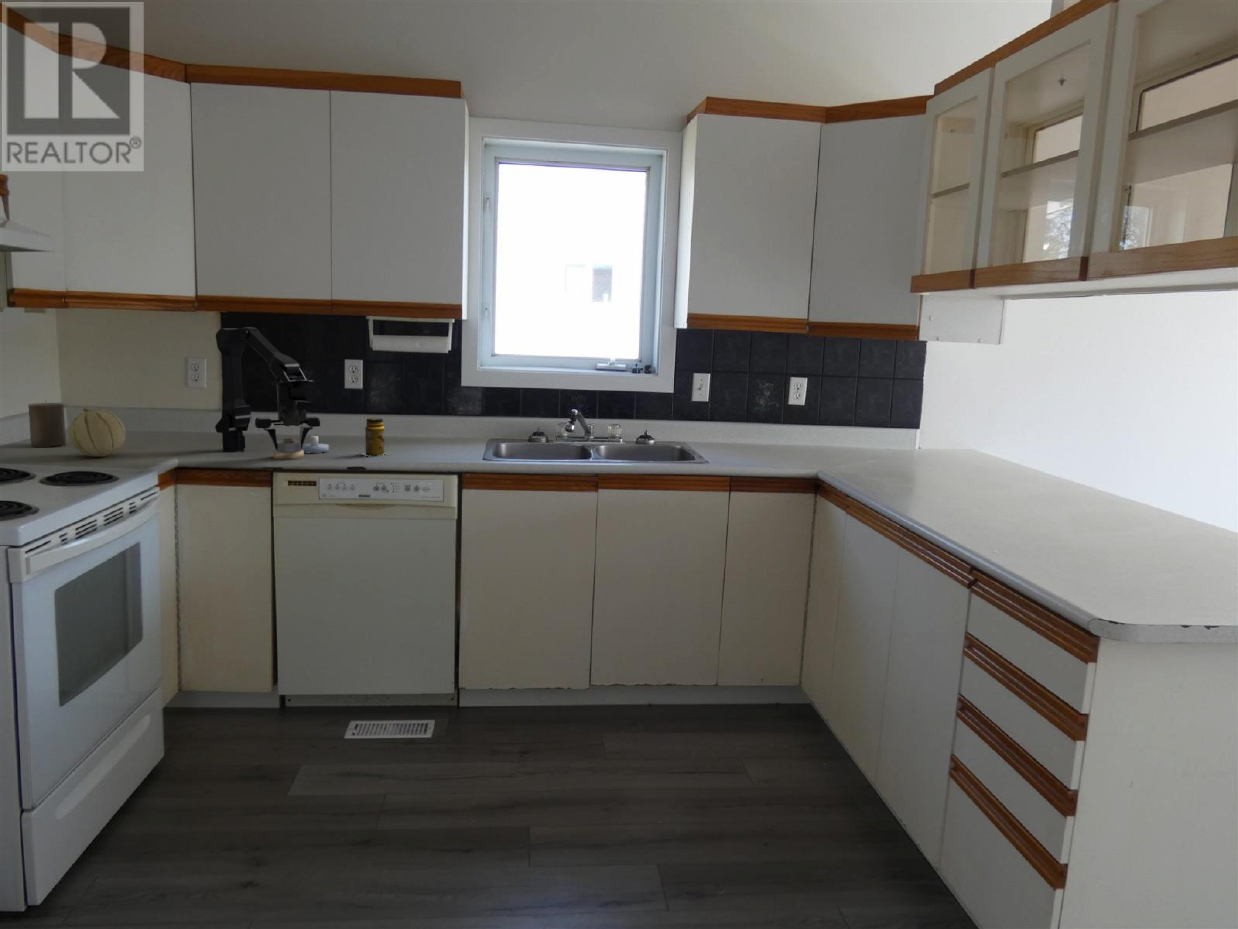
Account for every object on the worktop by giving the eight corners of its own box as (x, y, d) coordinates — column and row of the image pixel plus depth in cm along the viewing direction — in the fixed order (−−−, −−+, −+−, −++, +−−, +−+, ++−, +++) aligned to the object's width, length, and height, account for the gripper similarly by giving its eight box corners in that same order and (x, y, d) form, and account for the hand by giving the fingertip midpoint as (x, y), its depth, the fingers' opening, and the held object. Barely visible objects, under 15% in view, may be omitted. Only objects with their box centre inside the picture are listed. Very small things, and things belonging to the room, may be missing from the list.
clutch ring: (279, 453, 275) (278, 443, 274) (275, 450, 281) (274, 440, 280) (302, 452, 278) (302, 442, 278) (298, 449, 284) (297, 439, 284)
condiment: (389, 455, 292) (389, 419, 290) (366, 457, 286) (365, 420, 284) (378, 452, 297) (378, 416, 295) (355, 454, 291) (354, 418, 289)
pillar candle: (64, 447, 285) (61, 400, 283) (28, 447, 281) (25, 401, 279) (67, 443, 294) (65, 398, 291) (33, 444, 289) (30, 398, 287)
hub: (303, 454, 287) (303, 438, 287) (297, 450, 295) (297, 435, 294) (331, 452, 292) (331, 437, 291) (325, 448, 300) (325, 434, 299)
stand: (276, 460, 274) (275, 441, 273) (271, 456, 282) (270, 437, 281) (306, 458, 278) (306, 440, 277) (300, 454, 286) (300, 436, 285)
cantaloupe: (133, 457, 270) (130, 409, 267) (78, 462, 260) (75, 411, 257) (117, 451, 280) (115, 404, 278) (64, 455, 270) (61, 406, 267)
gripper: (259, 403, 265) (261, 454, 268) (323, 402, 275) (324, 451, 277) (254, 399, 275) (255, 449, 277) (315, 398, 284) (316, 446, 287)
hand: (288, 449), depth 280 cm, fingers closed on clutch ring, 7 cm apart
